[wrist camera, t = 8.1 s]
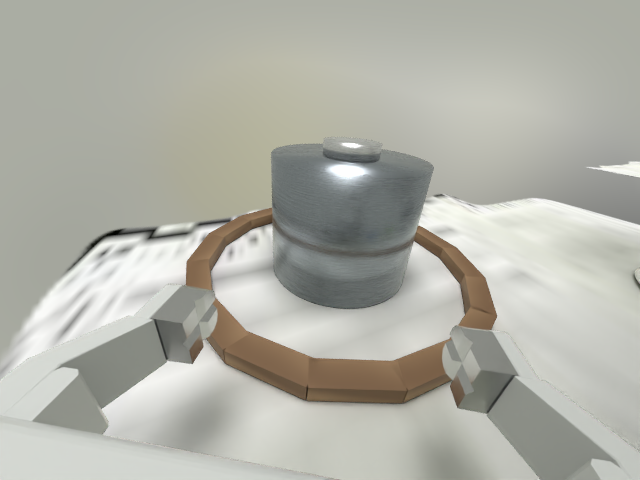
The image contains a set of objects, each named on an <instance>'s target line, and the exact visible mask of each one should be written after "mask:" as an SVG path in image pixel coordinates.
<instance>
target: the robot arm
mask: <svg viewBox="0 0 640 480" xmlns="http://www.w3.org/2000/svg"><path fill="white" fill-rule="evenodd" d="M635 277H636V279H637V281H638V282H639V283H640V268H638V269H636V271H635ZM214 300H215V294H214V291H212V290H209V289H203V288H197V287H191V286H185V285H184V286H183V285H177V284H172V283H170V284H167V285H165V286H164V287H163V288H162V289H161V290H160V291H159V292H158V293H157V294H156V295H155V296H154V297H153V298H152V299H151V300H150V301H148V302H147V303H146V304H145V305H144V306H143V307H142V308H141V309H140V310H139V311H138V312H137V313H136V314H135V315H134V316H126V317H124V318H122V319H119V320H117V321H115V322H112V323H110V324H108V325H105V326H103V327H101V328H98V329H96V330H94V331H91V332H89V333H87V334H84V335H82V336H80V337H77V338H75V339H73V340H70V341H68V342H66V343H63V344H61V345H59V346H56V347H54V348H52V349H49V350H47V351H45V352H42V353H40V354H38V355H35V356H33V357H31V358H28V359H27V360H25V361H24V362H23V363H21V364H20V365H19V366H18V367H16V368H15V369H14V370H12V371H11V372H10V373H9V374H7V375H6V376H5V377H3V378H2V379H1V380H0V480H339V479H334V478H329V477H324V476H318V475H313V474H308V473H303V472H297V471H292V470H287V469H281V468H276V467H271V466H266V465H260V464H255V463H250V462H245V461H239V460H234V459H229V458H223V457H218V456H213V455H208V454H202V453H197V452H192V451H187V450H181V449H176V448H171V447H165V446H160V445H155V444H150V443H144V442H139V441H134V440H128V439H123V438H118V437H113V436H107V435H103V433H104V432H105V431H106V429H107V428H108V420H107V418H106V416H105V415H104V413H103V411H102V408H104V407H105V406H106V405H108V404H109V403H111V402H112V401H113V400H115V399H116V398H118V397H119V396H120V395H122V394H123V393H125V392H126V391H127V390H129V389H130V388H132V387H133V386H134V385H136V384H137V383H138V382H140V381H141V380H143V379H144V378H145V377H147V376H148V375H150V374H151V373H152V372H154V371H155V370H157V369H158V368H159V367H161V366H162V365H164V364H165V363H166V362H167V361H174V362H181V363H188V364H193V362H194V361H195V359H196V358H197V356H198V355H199V353H200V351H201V350H202V348H203V341H202V340H204V339H206V338H207V337H209V336H210V335H211V334H212V332H213V330H214V328H215V325H216V322H217V316H218V313H217V308H216V307H215V306H214V305H213V304H212V303H213V302H214ZM450 335H451V338H452V340H450V341H448V342H447V343H445V346H444V348H443V353H442V362H443V367H444V370H445V373H446V374H447V375H448V376H449V377H450V378H451V379H452V380H453V381H452V383H451V385H450V388H451V391H452V393H453V396H454V399H455V402H456V405H457V408H460V409H465V410H470V411H475V412H480V413H485V414H487V416H488V417H489V419H490V420H491V421H492V422H493V423H494V425H495V426H496V427H497V428H498V429H499V430H500V432H501V433H502V434H503V435H504V436H505V438H506V439H507V440H508V441H509V442H510V444H511V445H512V446H513V447H514V448H515V450H516V451H517V452H518V453H519V454H520V455H521V457H522V458H523V459H524V460H525V461H526V463H527V464H528V465H529V466H530V467H531V469H532V470H533V471H534V472H535V473H536V475H537V476H538V477H539V478H540V479H541V480H640V452H639V451H638V450H636V449H635V448H634V447H632V446H631V445H630V444H628V443H627V442H626V441H624V440H623V439H622V438H620V437H619V436H618V435H617V434H615V433H614V432H613V431H611V430H610V429H609V428H607V427H606V426H605V425H603V424H602V423H601V422H599V421H598V420H597V419H595V418H594V417H593V416H591V415H590V414H589V413H588V412H586V411H585V410H584V409H582V408H581V407H580V406H578V405H577V404H576V403H574V402H573V401H572V400H570V399H569V398H568V397H566V396H565V395H564V394H562V393H561V392H560V391H559V390H557V389H556V388H555V387H553V386H552V385H551V384H549V383H548V382H547V381H544V380H540V379H539V378H538V376H537V375H536V373H535V372H534V370H533V369H532V367H531V366H530V364H529V363H528V361H527V360H526V358H525V357H524V356H523V354H522V353H521V351H520V350H519V348H518V347H517V345H516V344H515V342H514V341H513V339H512V338H511V336H510V335H509V334H507V333H506V332H502V331H494V330H485V329H478V328H471V327H463V326H455V327H453V328H452V330H451V332H450Z"/></svg>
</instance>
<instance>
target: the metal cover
mask: <svg viewBox="0 0 640 480" xmlns="http://www.w3.org/2000/svg"><path fill="white" fill-rule="evenodd" d="M271 164H272V166H271V167H272V217H273V266H274V272H275V274H276V277H277V278H278V280H279V281H280V282H281V284H282V285H283V286H284V287H285V288H287V289H288V290H289V291H290V292H292V293H293V294H295V295H296V296H298V297H300V298H302V299H305V300H307V301H310V302H312V303H315V304H319V305H323V306H328V307H334V308H362V307H368V306H373V305H376V304H379V303H382V302H384V301H386V300H388V299H389V298H391V297H392V296H393V295H395V294H396V292H397V291H398V290H399V289H400V287H401V285H402V281H403V277H404V274H405V270H406V267H407V263H408V259H409V256H410V252H411V249H412V245H413V241H414V238H415V234H416V230H417V227H418V223H419V220H420V216H421V212H422V209H423V205H424V202H425V198H426V194H427V191H428V187H429V183H430V180H431V176H432V173H433V169H434V167H433V166H432V164H430V163H429V162H427V161H425V160H422V159H420V158H417V157H414V156H411V155H407V154H403V153H399V152H394V151H389V150H383V149H382V143H380V142H376V141H372V140H366V139H358V138H347V137H328V138H324V142H323V144H297V145H288V146H283V147H279V148H276V149H274V150H273V151H272V152H271Z"/></svg>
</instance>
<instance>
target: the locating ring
mask: <svg viewBox="0 0 640 480" xmlns="http://www.w3.org/2000/svg"><path fill="white" fill-rule="evenodd" d="M272 222H273V217H272V208H269V209H265V210H261V211H257V212H254V213H250V214H246V215H242V216H240V217H238V218H236V219H234V220H232V221H231V222H229V223H227V224H225V225H223V226H222V227H220V228H218V229H216V230H214V231H213V232H211V233H209V234H208V235H207V237H206V238H205V239H204V240H203V242H202V243H201V244H200V245H199V247H198V248H197V249H196V251H195V252H194V253H193V254H192V256H191V257H190V258H189V259H188V261H187V268H186V286H191V287H197V288H203V289H209V290H212V282H211V272H210V271H211V270H212V268H213V266H214V265H215V263H216V261H217V260H218V258H219V256H220V255H221V253H222V252H223V250H224V248H225V247H226V245H228V244H229V243H231V242H232V241H234V240H235V239H237V238H238V237H240V236H242V235H243V234H245V233H246V232H248V231H249V230H251V229H253V228H256V227H259V226H262V225H265V224H269V223H272ZM414 241H416V242H417V243H419V244H420V245H422V246H423V247H425V248H426V249H428V250H429V251H431V252H432V253H433V254H435V255H436V256H438V257H439V258H440V259H441V260H442V261H443V263H444V264H445V265H446V266H447V268H448V269H449V270H450V271H451V273H452V274H453V275H454V277H455V278H456V279H457V280H458V282H459V283H460V284H461V290H462V297H463V303H464V309H465V316H464V318H463V319H462V321H461V322H460V324H459V325H458V326H463V327H471V328H478V329H485V330H491V328H492V326H493V324H494V322H495V320H496V318H497V314H496V311H495V308H494V304H493V301H492V298H491V295H490V292H489V288H488V285H487V282H486V279H485V277H484V276H483V275H482V274H481V273H480V272H479V271H478V270H477V268H476V267H475V266H474V265H473V264H472V263H471V262H470V261H469V260H468V259H467V258H466V257H465V256H464V255H463V254H462V253H461V252H460V251H459V250H458V249H457V248H456V247H454V246H453V245H451V244H449V243H448V242H446V241H444V240H443V239H441V238H439V237H438V236H436V235H434V234H433V233H431V232H429V231H428V230H426V229H424V228H423V227H420V226H418V227H417V230H416V234H415V238H414ZM212 304H213V305H214V306H215V307H216V308H217V313H218V316H217V322H216V325H215V328H214V330H213V332H212V334H211V335H210V336H209V337H207V338H206V339H207V340H208V341H209V343H210V344H211V345H212V347H213V348H214V349H215V351H216V352H217V353H218V355H219V356H220V357H221V359H222V360H223V361H224V363H226V364H227V365H230V366H232V367H234V368H236V369H238V370H240V371H243V372H245V373H247V374H249V375H251V376H253V377H256V378H258V379H260V380H262V381H264V382H267V383H269V384H271V385H273V386H275V387H277V388H280V389H282V390H284V391H286V392H288V393H290V394H293V395H295V396H297V397H299V398H301V399H303V400H306V398H307V401H335V402H372V403H402V402H403V403H404V402H406V401H409V400H411V399H413V398H415V397H417V396H419V395H421V394H423V393H426V392H428V391H430V390H432V389H434V388H436V387H438V386H440V385H442V384H445V383H447V382H449V381H451V380H452V379H451V378H450V377H449V376H448V375H447V374H446V373H445V370H444V367H443V362H442V353H443V348H444V346H445V343H447V342H448V341H450V340H452V338H451V337H450V339H448V340H446V341H443V342H441V343H438V344H435V345H433V346H430V347H428V348H425V349H422V350H420V351H417V352H415V353H412V354H409V355H407V356H404V357H402V358H399V359H396V360H394V361H378V360H350V359H322V358H312V357H310V356H307V355H305V354H302V353H300V352H297V351H295V350H292V349H290V348H287V347H285V346H283V345H280V344H278V343H275V342H273V341H270V340H268V339H265V338H263V337H260V336H258V335H255V334H253V333H250V332H248V331H246V330H245V329H244V328H243V327H242V326H241V325H240V323H239V322H238V321H237V320H236V319H235V318H234V317H233V316H232V315H231V314H230V313H229V312H228V311H227V309H226V308H225V307H224V306H223V305H222V304H221V303H220V302H219V301H218V300H217V299H216V298H215V300H214V302H213V303H212Z"/></svg>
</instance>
